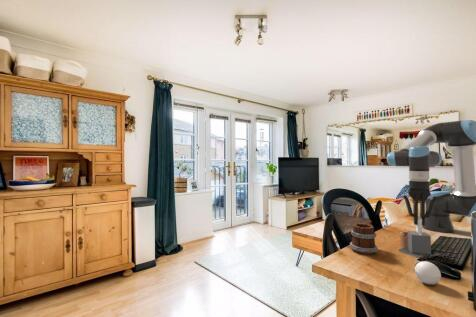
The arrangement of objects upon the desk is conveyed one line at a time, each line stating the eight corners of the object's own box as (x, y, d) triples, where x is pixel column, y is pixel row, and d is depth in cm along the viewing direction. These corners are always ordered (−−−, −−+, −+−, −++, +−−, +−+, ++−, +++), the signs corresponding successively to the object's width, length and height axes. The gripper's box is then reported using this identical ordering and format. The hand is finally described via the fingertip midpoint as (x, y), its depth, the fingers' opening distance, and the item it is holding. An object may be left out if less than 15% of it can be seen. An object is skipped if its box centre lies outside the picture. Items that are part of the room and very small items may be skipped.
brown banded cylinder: (344, 250, 116) (346, 217, 118) (356, 248, 125) (358, 218, 127) (371, 257, 107) (373, 222, 109) (381, 254, 117) (383, 222, 119)
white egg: (415, 276, 91) (415, 256, 91) (441, 282, 86) (441, 261, 86) (411, 286, 83) (411, 265, 83) (440, 294, 79) (440, 271, 79)
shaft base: (414, 247, 120) (414, 235, 120) (440, 256, 110) (440, 242, 110) (399, 251, 116) (399, 238, 116) (424, 259, 105) (424, 245, 105)
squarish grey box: (407, 247, 117) (407, 230, 118) (425, 249, 115) (425, 231, 115) (411, 252, 111) (411, 234, 111) (430, 254, 108) (430, 235, 108)
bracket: (417, 252, 115) (416, 237, 115) (396, 247, 121) (396, 233, 121) (428, 244, 126) (428, 230, 126) (409, 240, 133) (409, 227, 133)
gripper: (404, 180, 112) (404, 232, 112) (439, 181, 107) (439, 236, 107) (400, 179, 119) (400, 228, 119) (433, 180, 114) (433, 231, 114)
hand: (419, 232), depth 113 cm, fingers closed
